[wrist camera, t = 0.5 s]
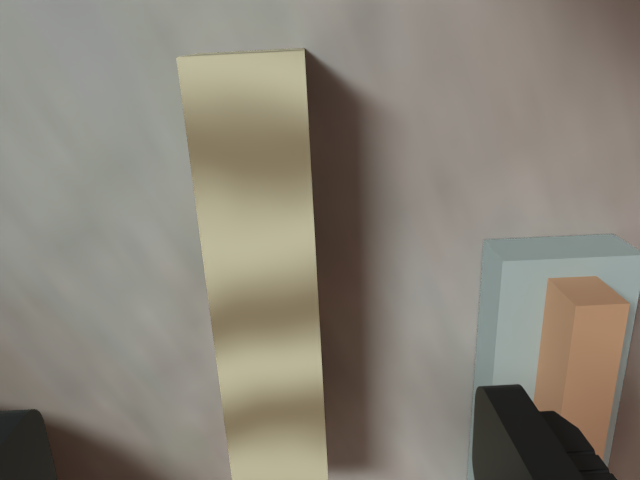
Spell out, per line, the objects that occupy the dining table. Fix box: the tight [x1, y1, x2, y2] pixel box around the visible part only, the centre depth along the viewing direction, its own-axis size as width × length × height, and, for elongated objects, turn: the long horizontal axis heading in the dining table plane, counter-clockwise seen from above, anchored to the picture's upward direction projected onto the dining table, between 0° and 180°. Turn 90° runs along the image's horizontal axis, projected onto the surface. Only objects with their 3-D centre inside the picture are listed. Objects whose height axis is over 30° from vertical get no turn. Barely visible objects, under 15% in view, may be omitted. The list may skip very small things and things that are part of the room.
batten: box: [176, 48, 328, 480], centre depth 28 cm, size 22×5×5 cm, turn 3°
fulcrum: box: [467, 234, 640, 480], centre depth 30 cm, size 18×7×6 cm, turn 2°
